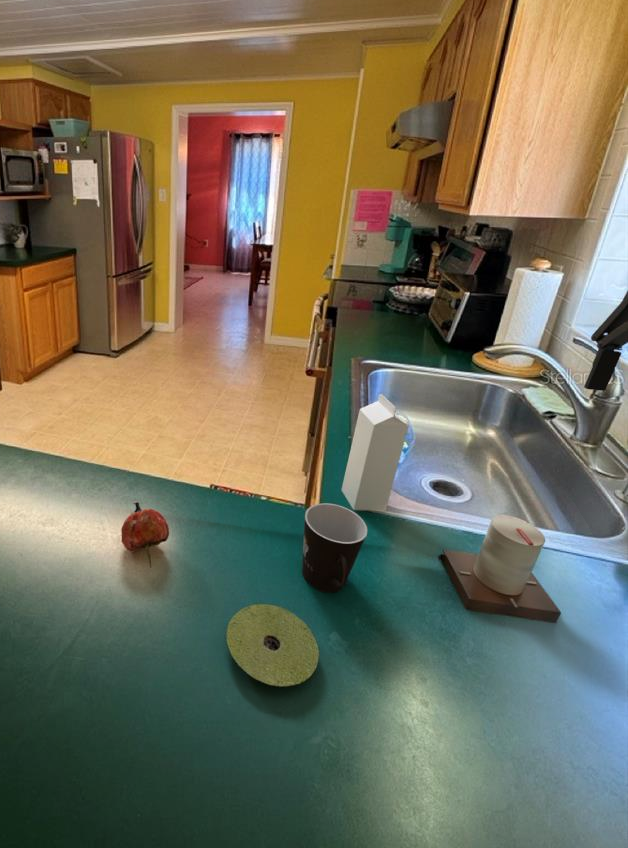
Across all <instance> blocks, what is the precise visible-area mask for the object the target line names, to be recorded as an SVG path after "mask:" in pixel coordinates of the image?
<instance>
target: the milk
mask: <svg viewBox="0 0 628 848" xmlns="http://www.w3.org/2000/svg"><path fill="white" fill-rule="evenodd" d="M396 412H397V407H396V406H395V405H394V404H393V403H392V402H391V401H390V400H388V398H387V397H385V396H384V395H383V394H382V393H379V395H378V398H377V400H376V401H375V402H372V403H370V404H368V405H365V406H363V407H360V408H359V411H358V416H357V420H356V424H355V427H354V428H355V429H354V433H353V434H354V435H353V438H352V442H351V447H350V450H349V456H348V460H347V464H346V469H345V473H344V477H343V482H342V486H341V492H342V494H343V496H344V497H345V498H346V501H347V502H348V504H349V505H350V506H351V509H352V511H382V512H383V511H387V508H388V504H389V500H390V496H391V492H392V489H393V485H394V482H395V478H396V474H397V471H398V467H399V463H400V461H401V456H402V454H403V453H402V452H403V448H404V445H405V441H406V438H407V435H408V431H409V427H410V425H408V423H407V422H406V421H405V420H403V419H402V417H400V416H399V415H398V414H397V413H396Z"/></svg>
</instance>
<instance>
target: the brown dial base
mask: <svg viewBox="0 0 628 848" xmlns="http://www.w3.org/2000/svg"><path fill="white" fill-rule="evenodd" d="M442 552H443V553H441V554H440V556H439V560H440V562H441V564H442V566H443V569H444V570H445V572H446V574H447V576H448V578H449V580H450V582H451V583H452V586H453V587H454V590H455V592H456V593H457V595H458V597H459V600H460V601H461V603H462V605H463V607H464V609H465V610H469V611H475V612H480V613H481V612H482V613H488V614H494V615H495V614H496V615H501V616H507V617H508V616H509V617H513V618H521V619H525V620H526V619H528V620H533V621H540V622H547V623H553V624H556V623H557V622H558V620H559V618H560V616H561V614H562V612H561V610H560V609H559V608H558V607H557V605H556V604H555V602H554V600H552V598H551V596H549V594H548V593H547V591H546V590H545V588H544V587H543V586H542V584H541V583H540V582H539V580H538V579H537V578H536V576H535V575H534V573H533V571H532V572H531V574H530V576H529V579H528V581H527V583H526V585H525V588H524V590H523V592H522V593H521V594H519V595H506V594H502V593H499V592H497V591H495V590H493V589H491V588H489V587H487V586H486V585H485V584H483V583H482V582H481V581H480V580H479V579H478V578H477V577H476V575H475V573H474V570H473V567H474V565H475V562H476V559H477V557H478V554H479V553H474V552H466V551H459V550H452V549H445V548H443V549H442Z"/></svg>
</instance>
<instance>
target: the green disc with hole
mask: <svg viewBox="0 0 628 848" xmlns="http://www.w3.org/2000/svg"><path fill="white" fill-rule="evenodd" d="M226 643H227V648H228V649H229V652H230V655H231V657H232V658H233V661H235V662H236V663H237V665H238V666H239V668H241V669H242V670H243V672H246V674H248V675H249V676H250V677H251V678H253V679H255V680H257V681H259V682H261V683H264V684H266V685H268V686H275V687H290V686H296V685H300V684H301V683H304V682H305V681H307V680H308V679H309V678H310V677H311V676H312V675H313V673H314V672H315V671H316V669H317V666H318V663H319V657H320V656H319V655H320V652H319V645H318V643H317V639H316V638H315V636H314V634H313V631H312V630H311V629H310V628H309V626H308V625H307V623H306V622H305V621H303V620H302V619H301V618H300V617H299V616H297V615H296V614H295V613H293V612H292V611H289V610H288V609H286V608H284V607H281V606H277V605H274V604H265V603H264V604H263V603H259V604H251V605H249V606H245V607H243V608H241V609H240V610H238V611H237V612H236V613H234V615H232V617H231V619H230V620H229V623H228V625H227V628H226Z"/></svg>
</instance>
